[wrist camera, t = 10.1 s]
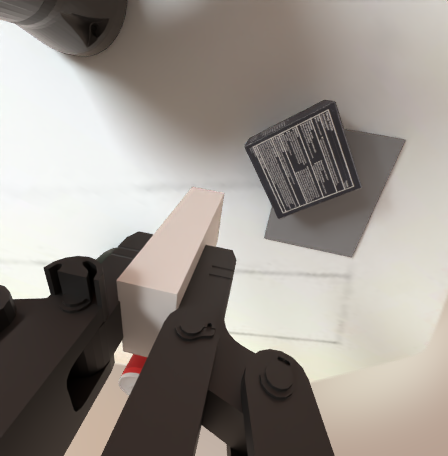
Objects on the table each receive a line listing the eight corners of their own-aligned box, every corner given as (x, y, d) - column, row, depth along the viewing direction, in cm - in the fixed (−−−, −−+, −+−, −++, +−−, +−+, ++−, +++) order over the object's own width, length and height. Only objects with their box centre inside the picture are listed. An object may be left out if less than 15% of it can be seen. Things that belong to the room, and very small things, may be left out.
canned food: (137, 338, 61) (111, 383, 51) (157, 324, 57) (132, 370, 48) (161, 357, 63) (140, 404, 53) (182, 345, 59) (163, 393, 49)
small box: (277, 202, 39) (350, 174, 35) (277, 221, 34) (364, 190, 30) (248, 136, 36) (326, 98, 32) (243, 145, 30) (336, 99, 26)
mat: (264, 236, 43) (264, 238, 42) (293, 120, 34) (293, 120, 34) (350, 255, 41) (351, 257, 41) (403, 139, 33) (405, 139, 32)
